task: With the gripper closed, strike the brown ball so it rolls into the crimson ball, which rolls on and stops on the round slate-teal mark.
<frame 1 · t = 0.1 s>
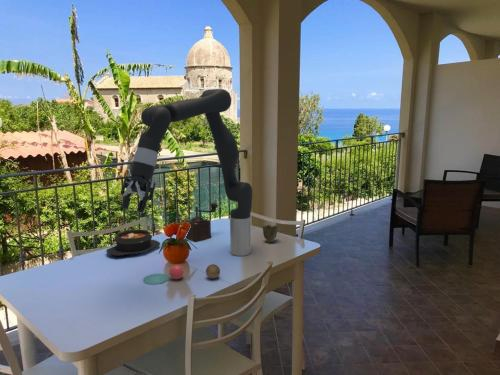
hand: (132, 210, 128), 31 cm above the table, tool tilted 20°, fingers open, 8 cm apart
object ball: (176, 272, 149), on the table
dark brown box: (201, 237, 202), on the table
cup: (270, 242, 193), on the table
brown ball: (212, 271, 149), on the table
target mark: (156, 279, 149), on the table
casserole: (134, 251, 181), on the table
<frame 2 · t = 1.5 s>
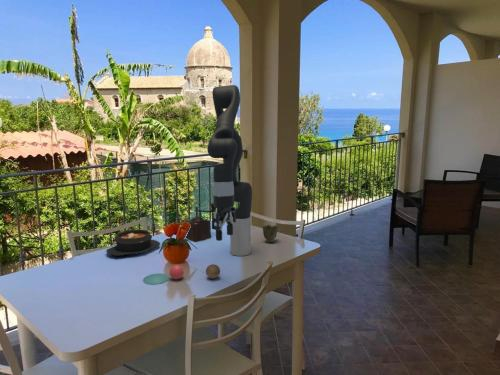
hand: (224, 237, 141), 18 cm above the table, tool pointing down, fingers open, 8 cm apart
nothing on the table moved.
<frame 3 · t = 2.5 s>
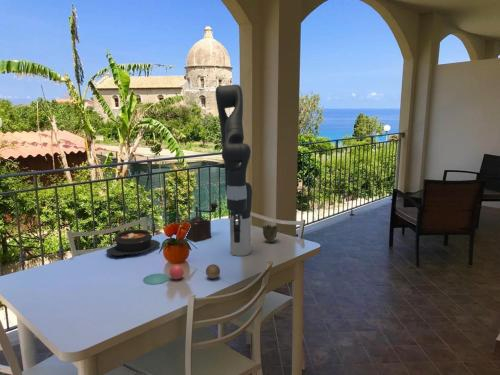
hand: (237, 240, 148), 15 cm above the table, tool pointing down, fingers open, 3 cm apart
nothing on the table moved.
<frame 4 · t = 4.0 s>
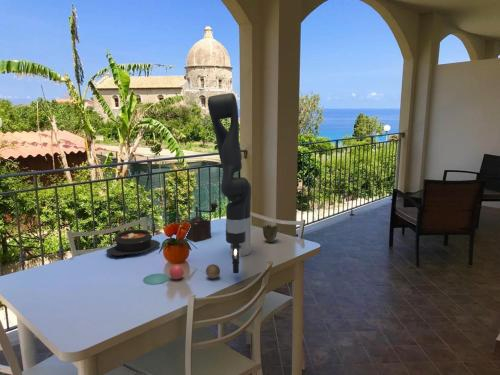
hand: (235, 272, 150), 2 cm above the table, tool pointing down, fingers closed
nothing on the table moved.
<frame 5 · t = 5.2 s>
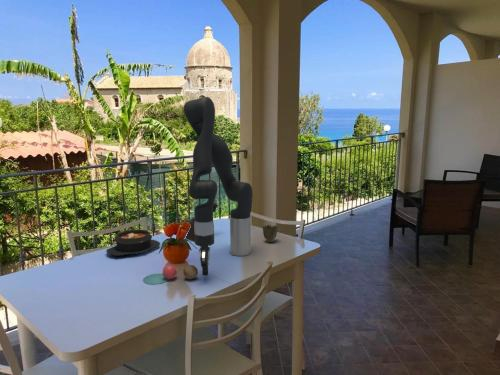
hand: (205, 274, 150), 2 cm above the table, tool pointing down, fingers closed
object ball: (169, 272, 149), on the table
brown ball: (190, 272, 149), on the table
everything else where it was.
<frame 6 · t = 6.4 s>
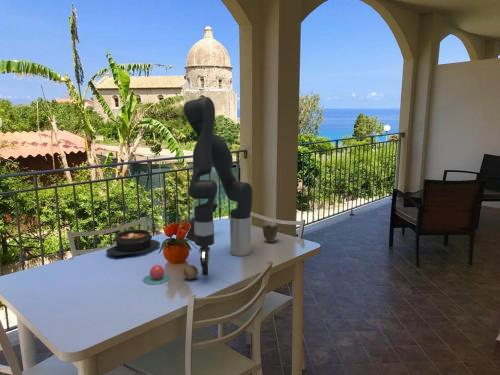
hand: (205, 274, 150), 1 cm above the table, tool pointing down, fingers closed
object ball: (157, 272, 149), on the table
everything else where it was.
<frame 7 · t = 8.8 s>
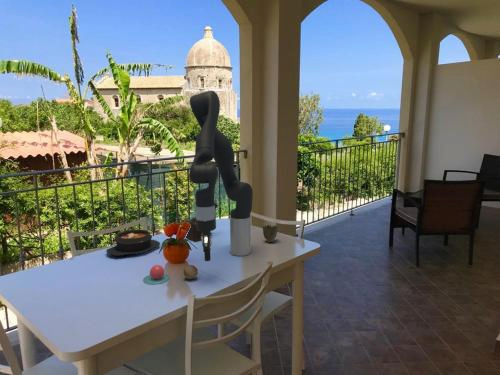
hand: (207, 260, 148), 7 cm above the table, tool pointing down, fingers closed
nothing on the table moved.
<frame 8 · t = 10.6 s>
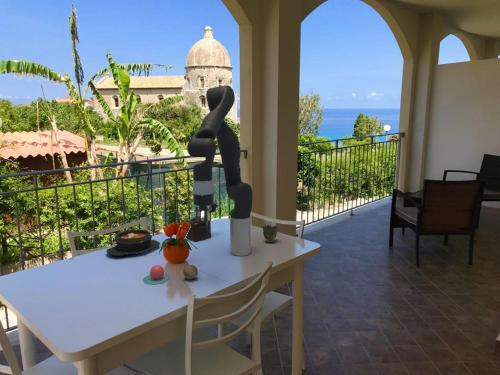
hand: (204, 236, 147), 17 cm above the table, tool pointing down, fingers closed
nothing on the table moved.
at the end: object ball 0.4 cm from the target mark (horizontally); object ball never touched the robot; brown ball first touched object ball at 4.9 s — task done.
